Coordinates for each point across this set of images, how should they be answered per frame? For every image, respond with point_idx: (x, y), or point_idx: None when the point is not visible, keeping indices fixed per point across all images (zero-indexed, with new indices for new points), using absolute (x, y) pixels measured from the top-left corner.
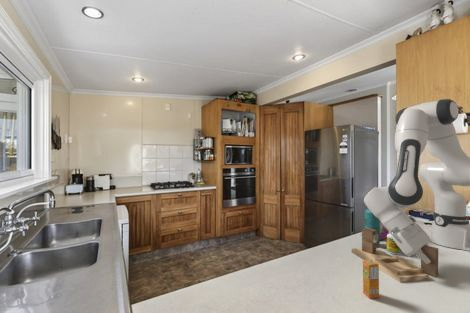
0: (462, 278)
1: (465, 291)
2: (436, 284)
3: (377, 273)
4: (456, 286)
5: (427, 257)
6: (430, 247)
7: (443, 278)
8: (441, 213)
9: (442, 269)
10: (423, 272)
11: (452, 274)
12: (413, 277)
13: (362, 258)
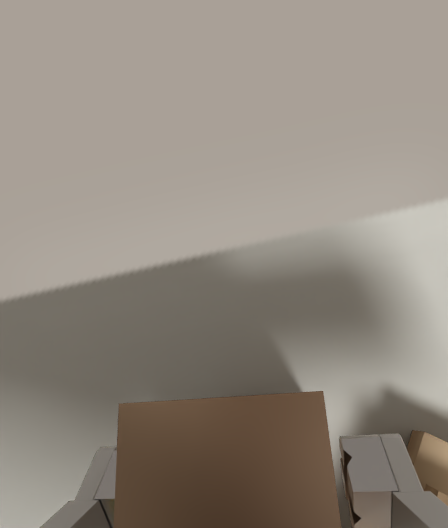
0: (151, 281)
1: (360, 219)
2: (444, 360)
3: None
4: (332, 268)
5: (404, 480)
6: (180, 515)
7: (268, 358)
8: None
9: (84, 411)
10: None
11: (130, 338)
12: None
13: None
